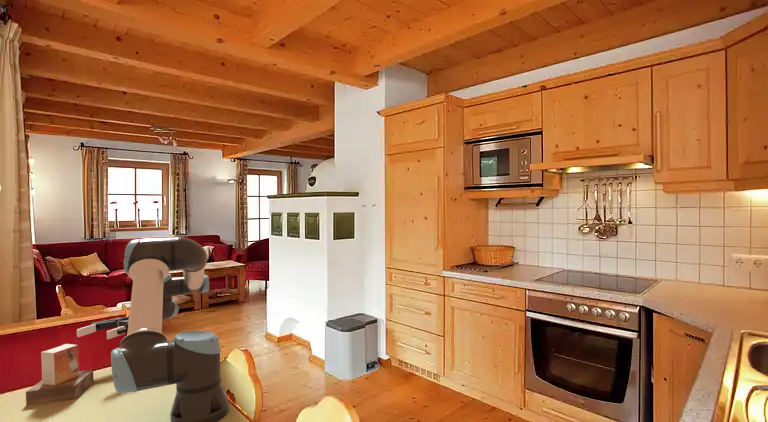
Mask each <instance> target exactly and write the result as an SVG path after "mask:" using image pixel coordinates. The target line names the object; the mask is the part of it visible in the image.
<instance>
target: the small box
mask: <svg viewBox="0 0 768 422" xmlns="http://www.w3.org/2000/svg"><path fill="white" fill-rule="evenodd" d="M40 353H41V355H40V357H41V360H40V361H41V380H42V384H45V385H54V386H55V385H57V384H60V383H62V382H65V381H67V380H70V379H72V378H75V377H78V376H79V371H80V366H79V365H80V362H79V345H78V344H73V343H72V344H71V343H64V344H62V345H60V346H57V347H53V348H50V349H46V350H43V351H41V352H40Z"/></svg>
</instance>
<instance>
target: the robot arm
mask: <svg viewBox="0 0 768 422" xmlns="http://www.w3.org/2000/svg"><path fill="white" fill-rule="evenodd" d="M207 262H208V254H207V251H206V249H205V248H204V247H203V246H202V245H201V244H199V243H198V242H197V241H195V240H193V239H191V238H187V237H183V236H175V237H156V238H155V237H151V238H140V239H132V240H130V241H129V242H128V243H127V245H126V248H125V251H124V257H123V269H124V273H125V274H126V275H128V276H129V277H130V279H131V280H132V289H131V299H130V306H129V315H128V316H125V317H120V316H119V317H115V318H110V319H106V320H100V321H95V322H91V323H90V325H86V326H84V327H80V328H77V329H76V337H77V338H80V337H83V336H86V335H90V334H92V333H93V334H95V333H96V332H97V331H102V330H106V339H107V340H110V339H114V338H115V337H119V336H122V335H125V334H127V335H126V336H124V337H123V338H122V339H121V340H120V342H119V347H115V348H114V349H112V350H111V352H110V364H111V365H110V366H111V367H110V368H111V375H112V380H113V385H114V389H115V391H116V393H119V394H127V393H137V392H139V391H144V390H149V389H150V390H151V389H156V388H161V387H165V386H171V385H176V388H175V389H176V392H175V395H174V400H173V403H172V406H171V409H170V413H169V414H170V415H169V418H170V422H218V421H219V420H221V419H222V418H224V417H225V416H226V415H227V414H228V412H229V410H230V409H229V407H230V406H229V398H228V396H227V394H226V391H225V389H224V387H223V383H222V369H221V368H222V365H221V352H222V350H221V349H222V348H221V342H220V338H219V336H218V334H216V333H215V332H211V331H207V330H199V329H198V330H196V329H195V330H186V331H182V332H178V333H176V334H175V336H174V337H173V340H168V337H167V336H166V334H164V333H163V332H162V328H163V321H167V320H169V319H172V318H173V317H175V316H177V315H178V313H179V310H180V309H179V305H178V303H177V301H175V300H174V299H173V297H175V296H183V295H192V294H195V295H196V294H202V293H207V292H209V291H210V281H209V280H210V278H209V275H207V274H205V267H206V265H207ZM174 271H182V274H183V276H181V277H179V276H178V277H177V276H176V277H172V274H171V273H170V272H174ZM107 329H108V330H107ZM109 329H110V330H109Z"/></svg>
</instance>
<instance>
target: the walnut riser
mask: <svg viewBox="0 0 768 422" xmlns="http://www.w3.org/2000/svg"><path fill="white" fill-rule="evenodd" d="M94 378H95V377H94V369H91V370H90V369H89V370H81V371H80V370H79V376H78V377H75V378H72V379H70V380H67V381H65V382H62V383H60V384H57V385H55V386H54V385H45V384H42V379H41V380H39V382H37V383H35V384H34V385H33V386H32V387H31V388H29V389H28V390H26V391H25V403H26V406H30V405H36V404H43V403H44V404H45V403H52V402H61V401H68V400H75V399H77V398H78V397H79V396H80V395H81V394H82V393H83V392H84V391H85V390H86V389H87V388H88V387H90V386H91V385H92V384H93V383H94V381H95V380H94Z"/></svg>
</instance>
